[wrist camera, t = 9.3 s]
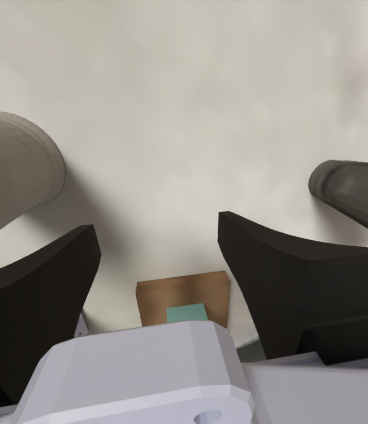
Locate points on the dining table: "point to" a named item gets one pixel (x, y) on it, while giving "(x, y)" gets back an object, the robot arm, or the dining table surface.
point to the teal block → (186, 313)
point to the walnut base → (184, 296)
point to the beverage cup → (343, 187)
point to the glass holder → (26, 167)
